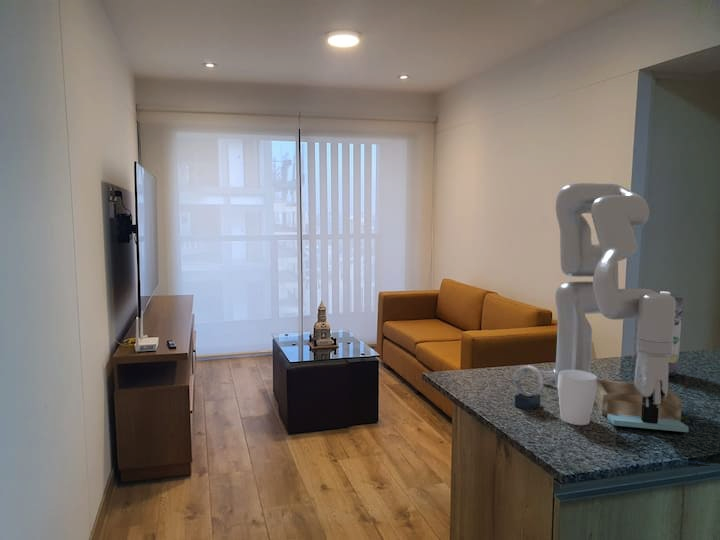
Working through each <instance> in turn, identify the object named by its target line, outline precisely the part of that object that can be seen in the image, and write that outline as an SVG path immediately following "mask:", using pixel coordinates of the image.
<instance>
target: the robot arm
mask: <svg viewBox="0 0 720 540" xmlns="http://www.w3.org/2000/svg"><path fill="white" fill-rule="evenodd" d="M555 213H556V214H555V215H556V220H557V222H558V226H559V227H558V228H559V243H560V244H559V248H560V249H559V250H560V251H559V253H560V255H559V256H560V258H559V259H560V269H561V272H562V273H563V275H565V276H567V277H571V278H572V277H573V278H579V277H580V278H584V277H585V278H588V277H589V278H591V277H592V281H588V280H587V281H586V280H585V281H584V280H583V281H567V282H564V283H562V284H561V285H559V286H558V287H557V288H556V290H555V303H556V305H555V306H556V313H557V329H556V332H557V333H556V334H557V335H556V337H557V339H556V353H555V354H556V357H555V367H553V368H552V370H541V369H539V370H540V372H541V373H542V375H543V379H545V380H546V379H547V380H549V382H548V383H549V385H550V386H551V387H552V388H553V389H555V390H558V377H559V372H560V371H562V370H581V371H586V372H590V373H591V357H592V341H593V329H592V325H591V324H590V322H589V320H588V318H587V317H586V315H590V314H591V315H592V314H601V315H602V316H603V317H604V318H606V319H609V320H617V321H618V320H621V321H622V320H637V323H636V324H637V327H636V342H635V344H636V345H635V351H636V353H637V354H636V355H637V356H636V361H635V368H634V369H635V371H634V380H633V383H634V385H635V387H636V388H637V390H638V391H639V392H640V393H641V394H642V403H643V404H642V412H641V420H642V421H643V422H645V423H656V424H657V423H658V411H659V405H660V404H661V397H662V398H663V399H664V398H666V397H667V391H668V387H669V376H668V366H669V365H668V356H672V352H673V338H674V324H675V309H676V301H675V299H674V297H672V296H670V295H666V294H660V292H659V293H658V292H656V291H654V290H652V289H649V288H619V262H621V261H623V260H625V259H628V258H629V257H632V256H633V255H635V253H637V251H638V247H639V245H638V243H637V242H638V241H637V240H636V236H635V233H634V229H633V228H636V227H638V228H639V227H642V226H643V225H645V224H646V223H647V221H648V219H649V217H650V208H649V205H648V202H647V201H646V199H644V197H642V195H640V194H638V193H637V192H634V191H632V190H630V189H629V188H626V187H624V186H622V185H620V184H616V183H593V182H591V183H590V182H579V183H578V182H577V183H572V184H571V183H570V184H568V185H565V186H564V187H562V188H561V189H560V190H559V192H558V194H557V196H556V199H555ZM584 214H591V218H592V222H593V225H594V230H595V233H596V237H597V240H598V244H593V242H592V228H591V226H590V224H589V222H588V221H587V219H586V217H584V216H583V215H584Z"/></svg>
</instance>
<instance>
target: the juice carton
mask: <svg viewBox="0 0 720 540" xmlns="http://www.w3.org/2000/svg"><path fill="white" fill-rule="evenodd" d="M659 294H666V295H670V296H672V297H674V299H675V301H676V309H675V324H674V338H673V352H672V356H668V365H669V366H668V377H675V376H676V374H677V370H678V367H679V358H680V356H679V355H680V344H681V332H682V331H681V329H682V317H683V297H681V296H678V295H676V294H671V292H670V291H666V290H665V291H664V290H663V291H659Z"/></svg>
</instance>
